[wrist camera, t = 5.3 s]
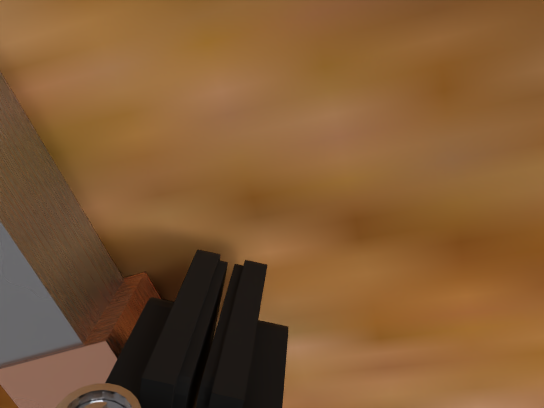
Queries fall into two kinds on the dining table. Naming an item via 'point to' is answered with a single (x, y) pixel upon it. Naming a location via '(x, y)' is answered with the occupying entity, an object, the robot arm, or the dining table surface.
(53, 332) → the tongs moving jaw
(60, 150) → the dining table surface
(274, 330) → the robot arm
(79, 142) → the dining table surface
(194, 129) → the dining table surface
